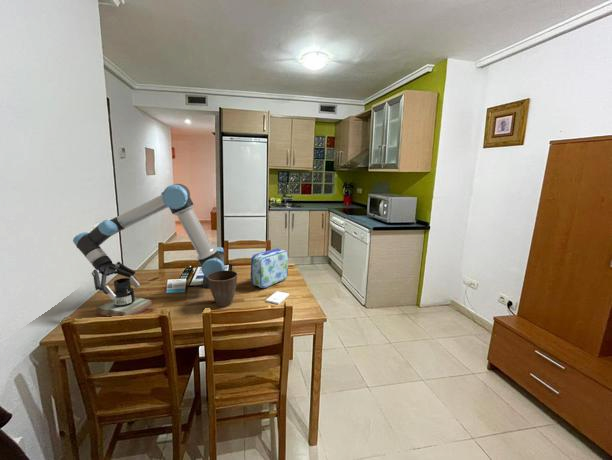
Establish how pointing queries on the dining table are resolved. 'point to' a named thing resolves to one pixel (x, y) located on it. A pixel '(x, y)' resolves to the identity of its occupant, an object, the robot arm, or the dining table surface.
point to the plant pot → (223, 286)
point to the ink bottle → (123, 292)
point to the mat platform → (124, 308)
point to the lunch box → (269, 267)
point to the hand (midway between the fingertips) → (126, 292)
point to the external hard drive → (277, 297)
